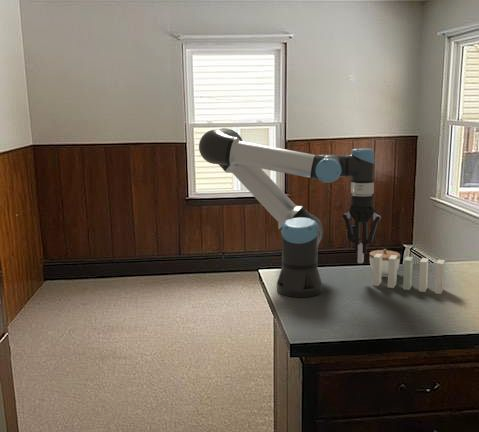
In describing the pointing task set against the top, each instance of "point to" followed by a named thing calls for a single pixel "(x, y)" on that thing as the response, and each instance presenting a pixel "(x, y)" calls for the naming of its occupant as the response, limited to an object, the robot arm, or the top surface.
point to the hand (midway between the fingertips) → (360, 262)
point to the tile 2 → (392, 271)
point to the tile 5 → (439, 276)
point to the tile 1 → (377, 269)
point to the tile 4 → (423, 274)
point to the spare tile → (407, 273)
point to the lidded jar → (384, 260)
